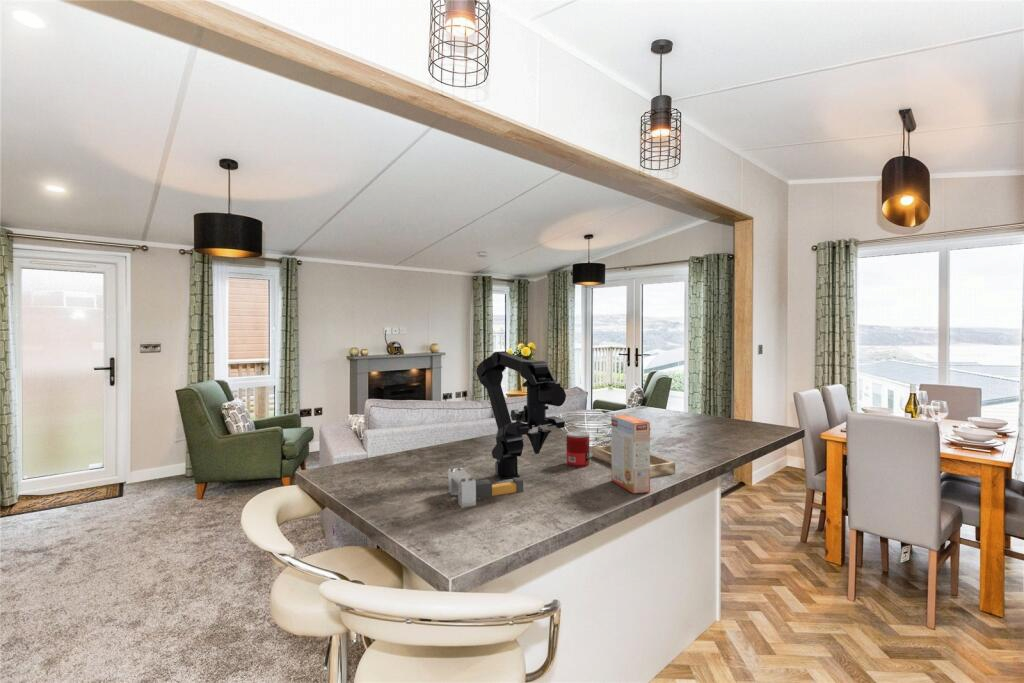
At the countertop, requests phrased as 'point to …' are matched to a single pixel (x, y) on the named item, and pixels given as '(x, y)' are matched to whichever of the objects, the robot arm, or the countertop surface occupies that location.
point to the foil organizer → (656, 463)
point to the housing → (462, 487)
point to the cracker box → (631, 453)
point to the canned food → (578, 449)
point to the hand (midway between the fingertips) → (536, 453)
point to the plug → (497, 488)
